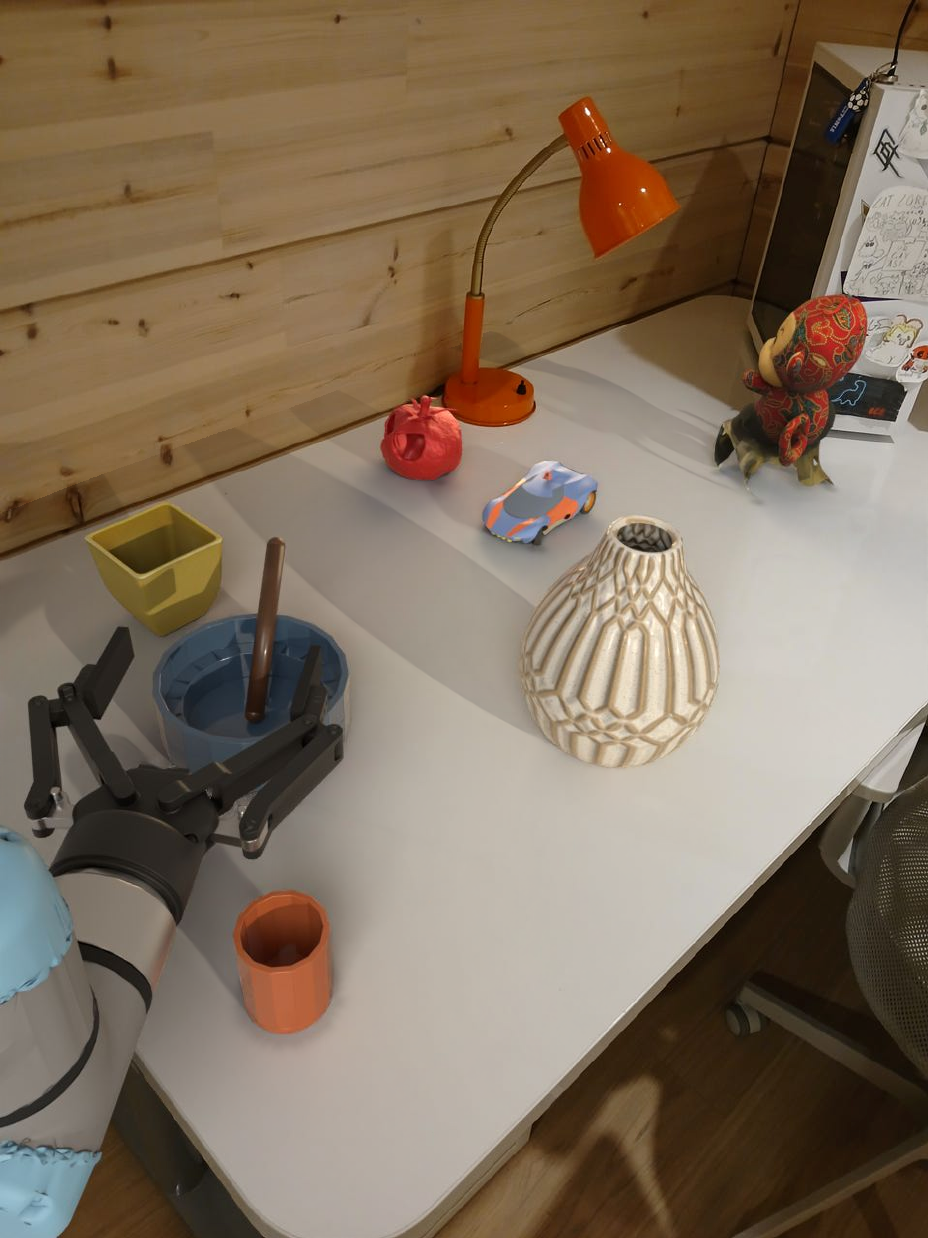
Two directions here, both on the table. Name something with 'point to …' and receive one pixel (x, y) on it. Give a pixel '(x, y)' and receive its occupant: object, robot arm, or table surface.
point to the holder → (284, 960)
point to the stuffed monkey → (796, 389)
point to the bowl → (238, 687)
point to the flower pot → (160, 566)
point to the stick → (265, 630)
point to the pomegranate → (422, 440)
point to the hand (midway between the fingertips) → (221, 650)
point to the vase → (622, 650)
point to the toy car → (540, 502)
